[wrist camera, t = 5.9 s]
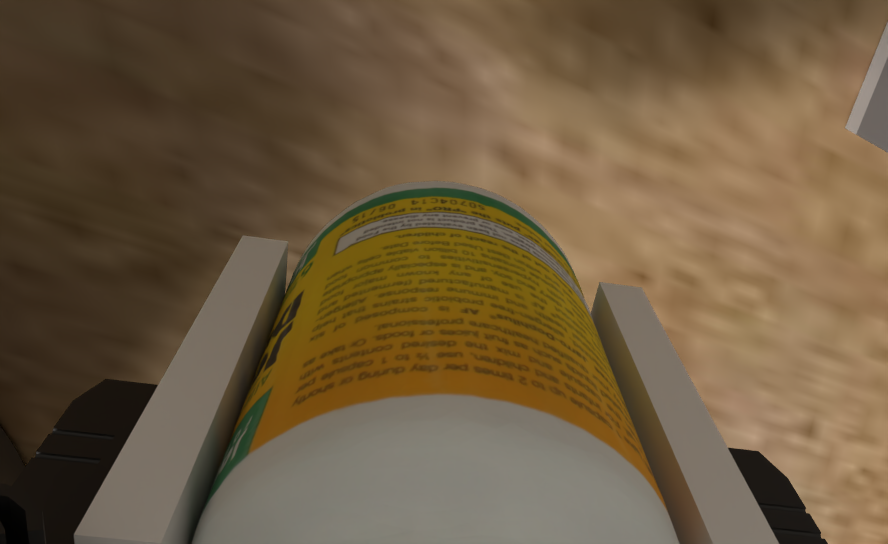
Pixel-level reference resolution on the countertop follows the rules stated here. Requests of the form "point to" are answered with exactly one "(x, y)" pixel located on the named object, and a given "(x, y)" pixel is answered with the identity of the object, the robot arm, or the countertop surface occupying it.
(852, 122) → the well
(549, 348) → the supplement bottle
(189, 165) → the countertop surface
